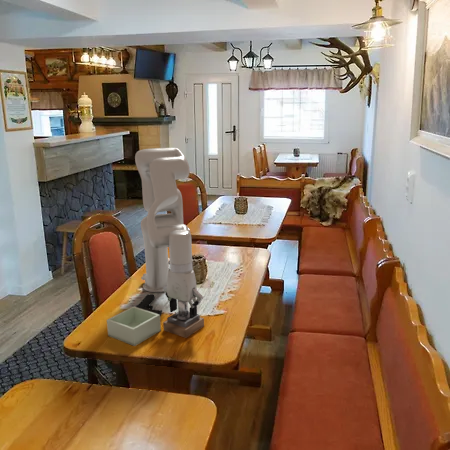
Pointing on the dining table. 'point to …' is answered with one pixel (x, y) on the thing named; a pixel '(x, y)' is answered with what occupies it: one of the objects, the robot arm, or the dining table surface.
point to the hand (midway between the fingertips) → (183, 313)
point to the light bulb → (183, 311)
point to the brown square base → (183, 325)
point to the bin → (133, 325)
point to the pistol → (148, 304)
